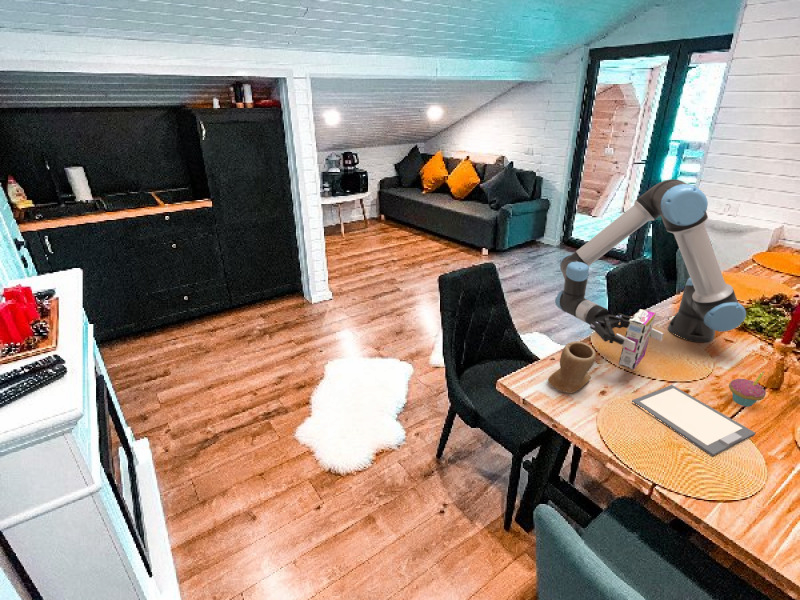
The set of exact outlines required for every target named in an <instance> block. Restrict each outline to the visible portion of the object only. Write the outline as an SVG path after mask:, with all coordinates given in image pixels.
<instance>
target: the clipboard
mask: <svg viewBox="0 0 800 600" xmlns="http://www.w3.org/2000/svg"><path fill="white" fill-rule="evenodd" d="M631 401H632V402H634V403H635V404H637V405H639V406H640V407H642V408H644V409H645V410H647V411H648V412H649V413H651V414H652V415H654V416H655V417H656V418H657V419H659V420H661V421H662V422H663V423H665V424H666V425H668V426H669V427H671V428H672V429H673V430H675V431H676V432H678V433H679V434H681V435H682V436H684V437H685V438H687V439H688V440H689V441H688V440H687V439H686V440H687V441H688V442H690V441H691V442H692V443H691V442H690V443H691V444H693V443H694V444H695V445H694V444H693V445H694V446H696V447H697V446H698V447H697V448H698V449H700V448H701V449H700V450H702V451H703V450H704V451H703V452H705V451H706V452H707V453H706V452H705V453H706V454H707V455H710V456H711V457H715V456H716V454H717V455H719V454H720V452H721V453H723V452H724V451H726V450H728V449H730V448H732V447H734V446H737V445H738V444H740V443H742V442H745V441H746V440H748V439H750V438H752V437H754V436H755V435H756V432H754V431H753V430H751V429H749V428H748V427H746V426H744V425H742V424H741V423H740V422H738V421H735V420H734V419H732V418H731V417H728V416H727V415H726V414H723V412H720V411H719V410H717V409H715V408H713V407H711V406H710V405H708V404H706V403H704V402H702V401H701V400H699V399H697V398H696V397H694V396H692V395H690V394H689V393H687V392H685V391H684V390H682V389H680V388H678V387H677V386H674V385H673V384H671V385H668V386H665V387H663V388H660V389H658V390H655V391H652V392H650V393H648V394H647V393H646V394H644V395H642V396H639V397H637V398H635V399H632V400H631ZM657 419H656V420H657ZM663 423H662V424H663ZM666 425H665V426H666ZM669 427H668V428H669ZM672 429H671V430H672ZM673 430H672V431H673ZM675 431H674V432H675ZM676 432H675V433H676ZM678 433H677V434H678ZM679 434H678V435H679ZM681 435H680V436H681ZM682 436H681V437H682ZM684 437H683V438H684ZM685 438H684V439H685ZM718 453H719V454H718ZM714 455H715V456H714Z"/></svg>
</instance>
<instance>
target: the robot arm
mask: <svg viewBox="0 0 800 600" xmlns="http://www.w3.org/2000/svg"><path fill="white" fill-rule="evenodd" d="M707 210H708V198H707V196H706V195H705V193H704V192H703V191H702V190H701V189H700V188H698V187H697V186H695V185H692V184H689V183H686V182H685V181H682V180H680V179H676V178H675V179H674V178H671V179H665V180H663V181H661V182H658V183H657V184H655V185H653V186H652V187H650V188H649V189H648V190H646V191H645V192H644V193H643V194H642V195H640V196H639V197H638V198H636V199H635V200H634V204H633V205H632V206H631V207H630V208H628V210H626V211H624V213H621V215H620V216H619V217H617V218H616V219H615V220H614V221H612V222H611V223H610V224H609V225H608V226H606V227H605V228H604V229H602V230H601V231H599V232H598V233H597V234H596V235H595V236H593V237H592V238H591V239H590V240H589V241H587V242H586V243H584V245H582V246H581V247H580V248H578V249H577V250H576V251H574V252H573V253H572V254H569V253H568V254H565V255H564V256H562V258H561V259H560V262H559V268H560V271H561V273H562V277H563V279H564V285H563V290H560V291H559V292H558V293H557V294H556V295H557V296H556V297H555V299H554V300H555V301H554V303H555V306H556V307H557V308H558V309H560V310H561V311H563V312H564V313H566V314H569V315H571V316H573V317H574V318H577V319H579V320H580V321H583V322H584V323H586V324H588V325H589V329H591V330H593V331H594V332H595V333H596V334H597V335H598V336H599V337H600V338H601V340H602V341H604V342H606V343H607V342H608V343H609V344H614V343H617V344H618V345H621V346H622V347H623V346H624V347H626V348H628V349H630V350H632V351H633V350H634V348H635V342H634V341H632V340H630V339H628V338H626V337H625V335H622V334H620V333H619V332H618V333H615V331H614V329H615V328H618V329H622V328H623V329H624V328H626V329H627V327H628V323H629V320H630V319H631V318H632V317H633V316H629V315H625V314H623V313H619V312H618V313H617V315H614V314H611V313H610V311H609V310H608V309H607V308H605V307H604V306H601V305H600V304H597V303H595V302H593V301H590V300H588V299H586V298H585V297H586V296H585V295H586V290H587V284H588V279H589V277H590V276H589V275H590V273H589V271H590V266H591V265H593V264H594V263H595V262H596V261H598V260H599V259H600V258H601V257H603V256H604V255H605V254H607V253H608V252H609V251H611V250H612V249H614V247H617V246H618V245H619V244H620V243H621V242H623V241H624V240H626V239H627V238H628V237H630V235H632V234H633V233H634V232H636V231H637V230H639V229H640V228H642V226H644V225H645V224H647V223H648V222H649V221H652V222H653V221H655V220H656V219H658V218H660V217H661V220H662V222H663V225H664V227H665V230H666V231H667V232H668V233H671V234H673V235H674V239H675V240H676V243H677V246H678V249H679V251H680V254H681V256H682V259H683V262H684V264H685V268H686V269H687V272H688V275H689V277H688V278H687V281H686V283H684V289H683V293H682V296H681V300H680V305H679V307H678V311H677V312H676V313H675V315H674V316H673V317H672V318H671V320H670V321H669V323H668V327H667V330H668V331H669V333H671V332H672V333H674V334H676V335H678V336H680V337H682V338H685V339H687V340H686V341H689V342H693V343H694V342H695V343H708V342H711V341H713V340H714V338H715V335H716V331H717V332H720V333H722V332H728V331H732V330H734V329H736V328H738V327H739V326H741V324H742V323H744V321H745V319H746V317H747V311H746V308H745V307H744V306H743V304H741V303H739V301H738V299H737V295H736V294H735V293H736V292H735V290H734V288H733V286H732V285H730V284H729V283H726V282H725V279H724V276H723V273H722V271H721V268H720V265H719V262H718V259H717V255H716V254H715V250H714V247H713V244H712V241H711V240H710V236H709V234H708V231H707V229H706V228H707V227H706V225H705V223H706V222H707V220H708V218H709V217H708V213H707ZM672 333H671V334H672ZM664 334H665V333H664V332H662V331H659V330H658V329H655V328H653V327H652V330H651V333H650V337H649V338H652V339H655V340H656V341H659V342H662V341H663V338H664ZM682 338H681V339H682ZM685 339H684V340H685Z"/></svg>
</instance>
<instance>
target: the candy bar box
mask: <svg viewBox="0 0 800 600" xmlns="http://www.w3.org/2000/svg"><path fill="white" fill-rule="evenodd" d="M631 317H632V318H631V319H630V320H629V323H628V327H627V328H626V332H625V335H624V337H626V338H628V339H630V340H632V341H634V342H635V348H634V350H633V351H632V350H630V349H628V348H626V347H624V346H622V348H621V353H620V357H619V362H618V366H621V367H623V368H626V369H630V370H633V371H635V369H636V368H637V366H638V365H639V364H640V362H641V361H642V360H643V359H644V357H645V355H646V351H647V347H648V344H649V342H650V341H649V340H650V338H651V337H650V333H651V330H652V328H653V325H654V321H655V318H656V312H653V311H650V310H645V309H641V308H640V309H639V310H638V311H637V312H635V314H633V316H631Z"/></svg>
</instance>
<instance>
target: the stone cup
mask: <svg viewBox="0 0 800 600" xmlns="http://www.w3.org/2000/svg"><path fill="white" fill-rule="evenodd" d="M595 360H596V351H595V349H594V348H593V347H592V346H591V345H590V344H588V343H585V342H584V341H575V340H574V341H571V342H569V343H568V342H567V343H566V345H565V346H564V347H563V349H562V351H561V355H560V358H559V366H560V367H559V368H558V369H557V370H556V371H554V372H553V373H552V374H550V376H549V377H548V379H547V383H548V384H549V385H550V386H552V387H553V388H554V389H556V390H558V391H560V392H563V393H567V394H573V393H576V392H577V391H580V390H581V389H582V388H584V386H585V385H586V384H587V383H588V382H589V381H590V380H591V379H592V376H591V374H590V373H589V371H590V369H591V368H592V367H593V366H594V363H595Z"/></svg>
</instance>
